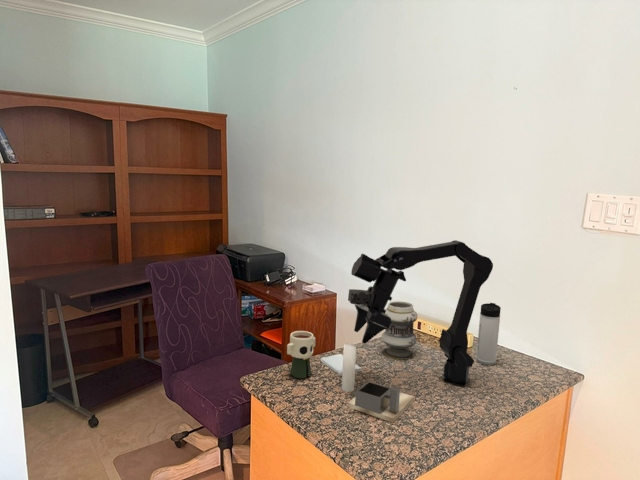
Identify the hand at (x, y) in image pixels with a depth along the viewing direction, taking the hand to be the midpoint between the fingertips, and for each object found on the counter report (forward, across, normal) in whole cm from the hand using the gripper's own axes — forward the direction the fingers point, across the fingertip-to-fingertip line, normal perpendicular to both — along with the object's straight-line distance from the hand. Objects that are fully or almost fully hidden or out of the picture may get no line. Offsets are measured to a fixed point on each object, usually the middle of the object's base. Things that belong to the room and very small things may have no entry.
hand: (359, 336), depth 129 cm
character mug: (+20, -8, -9) cm, 23 cm away
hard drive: (+15, -14, +4) cm, 21 cm away
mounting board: (+12, +12, +9) cm, 19 cm away
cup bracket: (+12, +15, +7) cm, 20 cm away
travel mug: (-6, -13, +50) cm, 52 cm away
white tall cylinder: (+15, +2, +3) cm, 15 cm away
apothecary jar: (+6, -22, +24) cm, 33 cm away
